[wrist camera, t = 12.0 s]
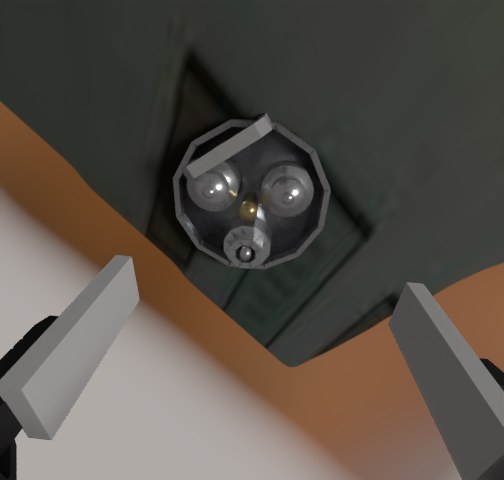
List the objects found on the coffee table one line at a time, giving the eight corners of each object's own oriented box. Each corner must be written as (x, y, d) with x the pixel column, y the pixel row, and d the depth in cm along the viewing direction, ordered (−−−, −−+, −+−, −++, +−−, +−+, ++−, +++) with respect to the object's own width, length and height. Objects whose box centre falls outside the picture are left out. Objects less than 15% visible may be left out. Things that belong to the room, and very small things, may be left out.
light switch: (194, 158, 40) (177, 172, 33) (266, 112, 36) (264, 116, 29) (200, 168, 40) (185, 184, 33) (272, 124, 37) (272, 131, 30)
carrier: (175, 114, 37) (151, 118, 30) (338, 124, 36) (353, 131, 29) (185, 252, 48) (170, 279, 41) (312, 262, 47) (318, 292, 40)
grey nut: (227, 251, 45) (221, 272, 40) (227, 213, 42) (221, 230, 37) (268, 255, 45) (268, 276, 40) (272, 216, 42) (272, 234, 36)
